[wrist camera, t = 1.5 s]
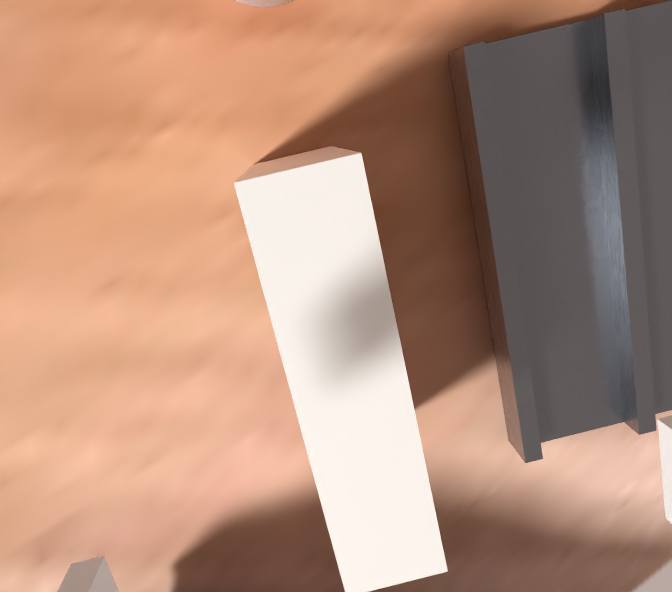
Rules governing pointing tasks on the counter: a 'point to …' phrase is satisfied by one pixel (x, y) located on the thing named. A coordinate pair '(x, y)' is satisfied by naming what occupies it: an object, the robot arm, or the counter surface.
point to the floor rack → (574, 218)
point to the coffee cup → (264, 3)
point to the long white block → (344, 362)
